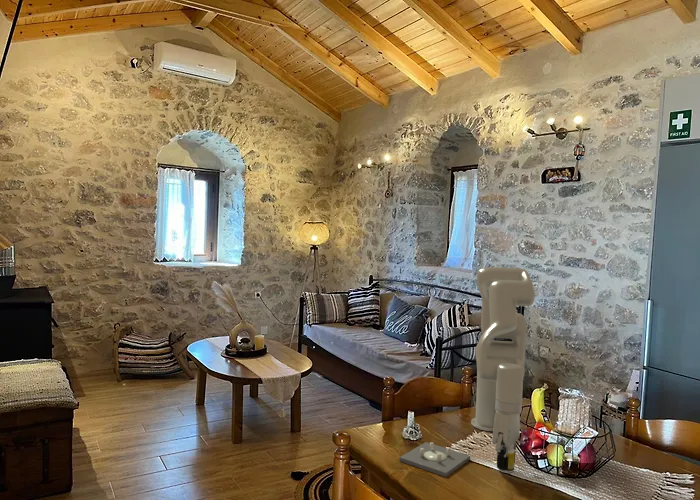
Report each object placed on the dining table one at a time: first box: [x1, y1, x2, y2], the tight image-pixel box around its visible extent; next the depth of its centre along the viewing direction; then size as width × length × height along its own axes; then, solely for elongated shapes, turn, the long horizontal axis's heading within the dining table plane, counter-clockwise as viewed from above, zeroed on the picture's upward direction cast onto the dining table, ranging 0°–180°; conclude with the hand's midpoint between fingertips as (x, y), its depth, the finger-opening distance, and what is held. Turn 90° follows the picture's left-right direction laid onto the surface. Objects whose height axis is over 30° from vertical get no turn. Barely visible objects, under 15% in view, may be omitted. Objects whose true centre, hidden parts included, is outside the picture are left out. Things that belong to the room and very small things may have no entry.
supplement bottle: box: [497, 443, 516, 474], centre depth 159 cm, size 5×5×8 cm
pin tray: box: [399, 441, 471, 478], centre depth 166 cm, size 16×16×4 cm
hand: (505, 464), depth 159 cm, fingers closed on supplement bottle, 4 cm apart
